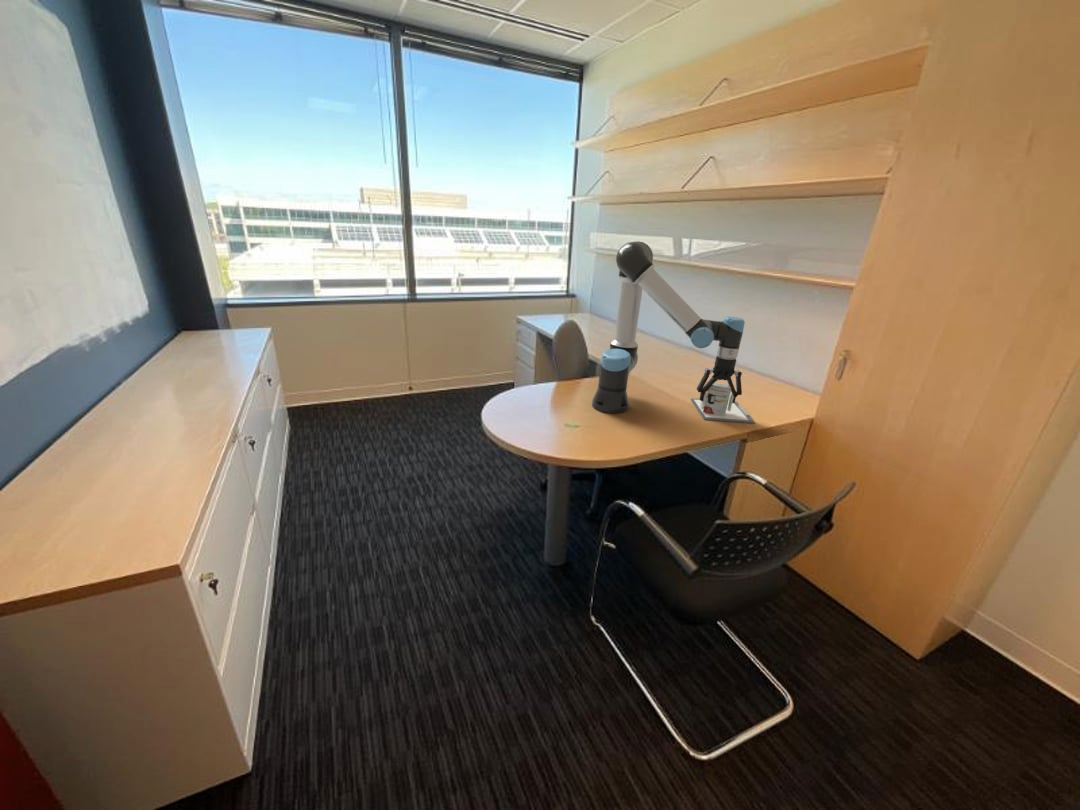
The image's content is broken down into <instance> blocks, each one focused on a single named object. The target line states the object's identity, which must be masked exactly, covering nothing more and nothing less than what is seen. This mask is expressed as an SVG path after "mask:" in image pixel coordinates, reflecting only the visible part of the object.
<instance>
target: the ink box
mask: <svg viewBox="0 0 1080 810" xmlns="http://www.w3.org/2000/svg"><path fill="white" fill-rule="evenodd" d="M731 393H732V392H731V387H730V386H729V385H727V384H721V383H718V382H717V383H716V382H715V383H714V384H713V385H712V386H711V387H710V388H709V389H708V391H707V392H706V394H707V396H706V401H705V406H704V410H703V412H705V413H710V414H715V415H719V416H725V413H726V409H727V405H728V400H729V396H730V394H731Z"/></svg>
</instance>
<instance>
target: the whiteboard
mask: <svg viewBox="0 0 1080 810" xmlns="http://www.w3.org/2000/svg"><path fill="white" fill-rule="evenodd" d="M690 401H691V402H692V404H693V405H694V407H695V408H696V411H698V413H699V414H700V416H701V417H702V419H703V420H704V421H710V422H711V421H713V422H714V421H715V422H726V423H727V422H728V423H739V424H740V423H742V424H752V423H755V424H756V421H755V420H754V419H753V418H752V417H751V416H750V414H749V413H748V412H747V410H745V408H744V407H743V406H742V405H740V404H739V403H738V402H737V401H735V403H732V406H731V411H728V410H727V409H726V413H725V416H719V415H715V414H710V413H705V412H703V410H704V409H701V407H700V405H701V401H700V398H690Z"/></svg>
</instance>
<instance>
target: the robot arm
mask: <svg viewBox="0 0 1080 810" xmlns="http://www.w3.org/2000/svg"><path fill="white" fill-rule="evenodd" d="M615 256H616V257H615V261H616V266H617V268H618V270H619V271H618V278H619V279H620V280H621V286H620V293H619V300H618V301H619V302H618V309H617V318H616V324H615V325H616V326H615V333H614V338H613V339H612V340H611V341H610V344H609V349H606V350H604V351H603V352H602V354H601V357H600V361H599V362H600V365H599V366H600V367H599V377H598V385H597V388H596V389H597V390H596V392H595V393H594V396H593V397H592V401H591V402H592V403H591V406H592V408H593V409H595V410H597V411H599V412H603V413H608V414H621V413H623V414H624V413H625V412H627V411H628V410H629V405H630V404H629V403H630V401H629V397H628V392H627V389H628V380H629V375H630V373H631V372H632V370H633V369H635V367H636V366H637V364H638V361H639V360H638V359H639V358H638V357H639V356H638V350H639V349H638V348H639V344H638V343H637V342H636V337H637V330H638V322H639V318H640V317H639V316H640V310H641V309H640V308H641V302H642V294H643V291H644V292H645V294H647V295H648V296H649V297H650V298H651V299H652V300H653V301H654V302H655V304H657V306H659V307H660V308H661V310H662V311H664V313H665V314H666V315H667V316H668V317H669V318H671V320H672V321H673V322H674V323H675V324H676V325H677V326H678V327H679V328H680V330H681V331H683V332H684V333H685V335H686V336H687V337H688V338H689V339H690V341H691V344H692V345H693V346H694V347H695V348H698V349H706V348H708V347H709V346H710V345H712V343H713V341H715V342H719V343H718V347H717V351H716V355H717V356H716V357H715V361H714V366H713V368H708V367H707V368H705V370H704V374H703V375H702V377H701V379H700V381H699V383H698V385H697V387H696V391H697V392H698V393H700V394H699V399H700V401H701V405H700V407H701V409H704V406H705V401H706V396H707V392H708V389H709V388H710V387H711V386H712V385H713V384H714V383H716V382H717V381H721V380H722V381H726V382H727V384H728V386H730V387H731V392H730V396H729V400H728V405H727V410H728V411H731V406H732V403H735V402H736V398H737V397H738V396H741V395H743V392H742V379H741V377H742V375H743V373H742V371H741V370H740V369H738V370H735V367H736V363H737V358H738V355H739V350H740V346H741V342H742V337H743V333H744V329H745V328H744V327H745V322H746V321H745V320H744V319H743V318H741V317H737V316H726V317H724V319H723V321H719V320H711V319H710V320H709V319H702V318H701V316H699V315H698V314H697V312H696V311H695V310H694V309H693V308H692V307H691V306H690V305H689V303H687V302H686V301H685V300H684V299H683V298H682V296H681V295H679V293H678V292H676V290H675V289H674V288H673V287H672V286H671V285H670V284H669V283H668V282H667V280H665V279H664V278H663V277H662V276H661V275H660V274H659V273H658V272H657V270H655V265H654V263H653V259H654V258H653V257H654V255H653V251H652V248H651V247H650V246H649V245H648V244H647V243H645V242H643V241H630V242H627V243H625V244H623V245H621V246H620V248H619V249H618V251H617V253H616V255H615ZM712 373H713V375H712V376H711V378H710V379H709V377H710V375H711V374H712ZM733 375H734V376H735V385H734V383H733V379H732V376H733ZM708 379H709V380H708ZM735 386H736V387H735Z"/></svg>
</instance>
